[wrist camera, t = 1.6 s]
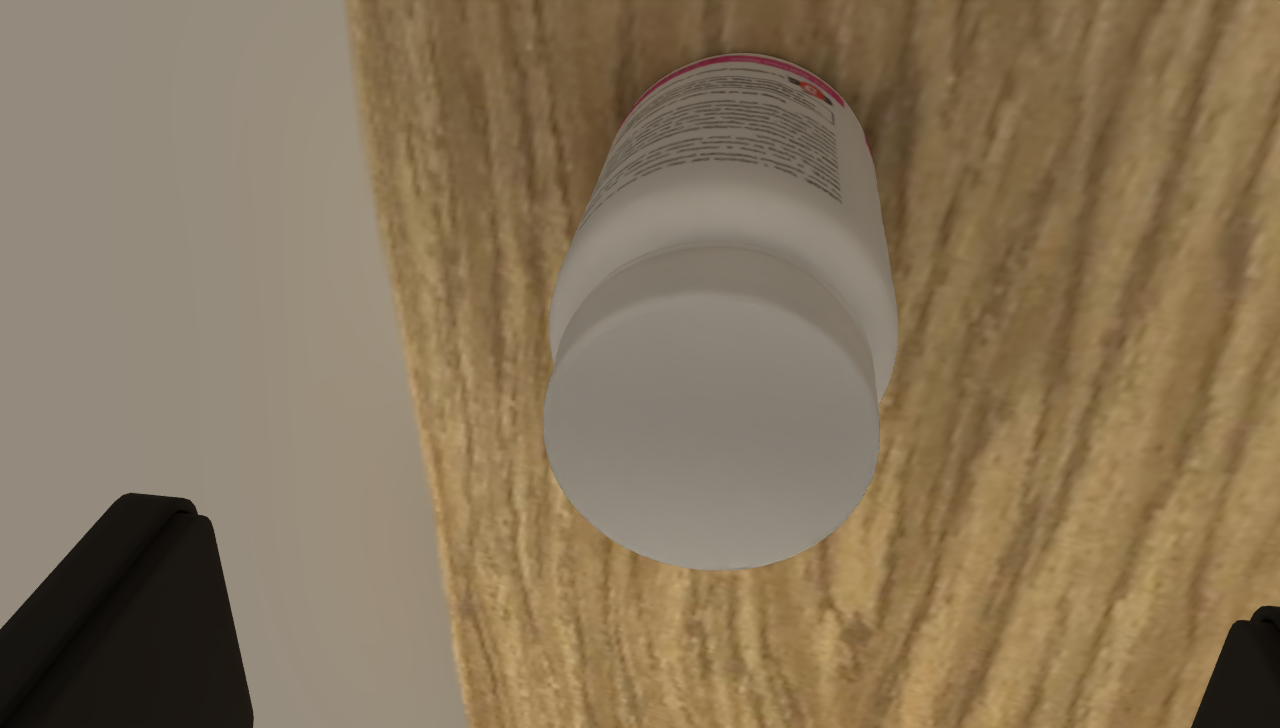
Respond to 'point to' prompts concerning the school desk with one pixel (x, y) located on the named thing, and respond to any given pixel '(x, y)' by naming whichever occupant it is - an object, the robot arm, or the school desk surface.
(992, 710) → the school desk surface
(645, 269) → the pill bottle
